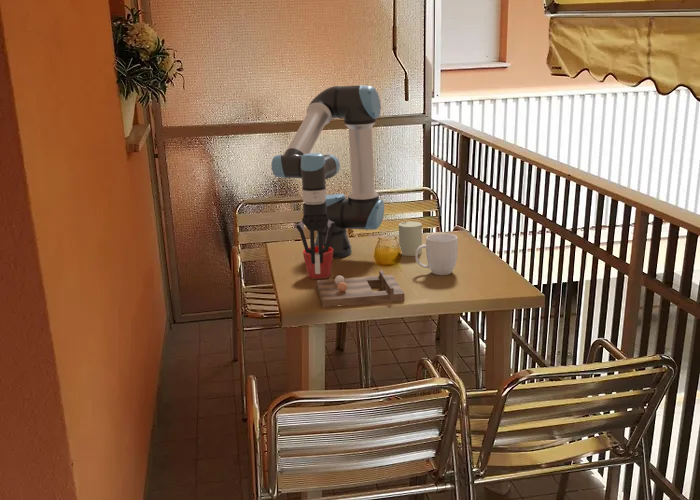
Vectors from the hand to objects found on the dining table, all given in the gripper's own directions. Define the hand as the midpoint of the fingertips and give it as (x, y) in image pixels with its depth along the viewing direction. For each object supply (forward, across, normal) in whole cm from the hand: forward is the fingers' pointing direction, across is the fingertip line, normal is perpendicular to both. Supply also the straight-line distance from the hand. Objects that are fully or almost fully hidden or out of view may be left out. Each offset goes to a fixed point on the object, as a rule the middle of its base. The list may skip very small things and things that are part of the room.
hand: (317, 272), depth 238 cm
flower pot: (+7, +2, +20) cm, 21 cm away
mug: (+7, +44, +13) cm, 47 cm away
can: (+7, +40, +41) cm, 58 cm away
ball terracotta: (+3, +7, -7) cm, 10 cm away
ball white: (+3, +7, 0) cm, 8 cm away
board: (+7, +13, -3) cm, 15 cm away
